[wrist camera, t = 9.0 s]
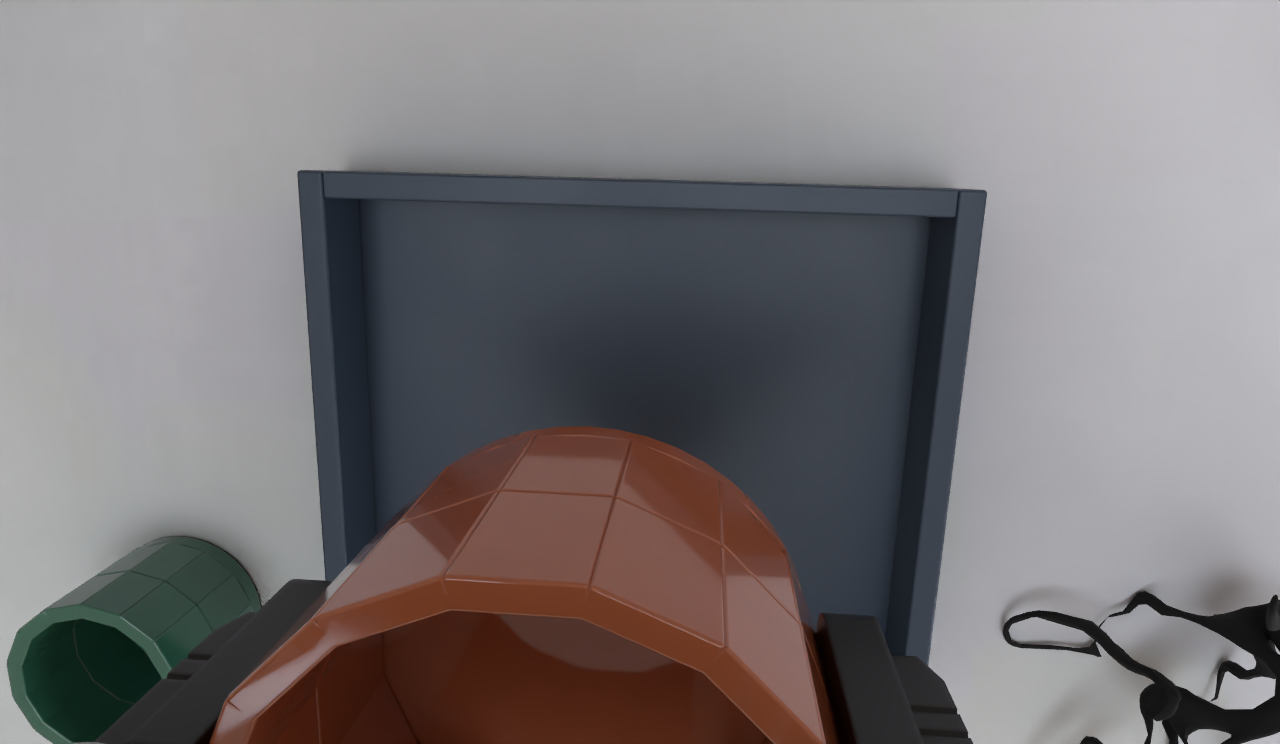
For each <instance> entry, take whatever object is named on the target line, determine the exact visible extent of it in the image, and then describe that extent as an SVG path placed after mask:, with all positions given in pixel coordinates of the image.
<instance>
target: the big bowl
mask: <svg viewBox="0 0 1280 744" xmlns="http://www.w3.org/2000/svg"><path fill="white" fill-rule="evenodd" d="M209 744H842V741H841V737H840V733H839V728H838V724H837V720H836V715H835V711H834V707H833V703H832V698H831V694H830V690H829V686H828V681H827V677H826V673H825V668H824V664H823V660H822V656H821V651H820V647H819V643H818V638H817V634H816V630H815V626H814V623H813V621H812V618H811V615H810V613H809V610H808V607H807V604H806V602H805V598H804V594H803V591H802V588H801V584H800V581H799V577H798V574H797V571H796V569H795V567H794V564H793V562H792V560H791V558H790V555H789V553H788V551H787V549H786V547H785V545H784V543H783V542H782V540H781V539H780V537H779V536H778V534H777V532H776V531H775V529H774V528H773V526H772V524H771V523H770V521H769V520H768V519H767V518H766V517H765V516H764V514H763V513H762V512H761V511H760V510H759V508H758V507H757V506H756V505H755V504H754V502H753V501H752V500H751V499H750V498H749V497H748V496H747V495H746V494H744V493H743V492H742V491H741V490H740V489H739V488H738V487H737V486H736V485H735V484H734V483H732V482H731V481H730V480H729V479H728V478H726V477H725V476H723V475H722V474H721V473H719V472H718V471H716V470H715V469H713V468H712V467H711V466H709V465H708V464H706V463H705V462H703V461H701V460H699V459H698V458H696V457H694V456H692V455H690V454H688V453H686V452H684V451H682V450H681V449H679V448H677V447H674V446H671V445H669V444H666V443H663V442H661V441H658V440H655V439H653V438H650V437H647V436H643V435H639V434H634V433H630V432H626V431H622V430H617V429H608V428H599V427H590V426H570V427H552V428H545V429H538V430H531V431H526V432H522V433H519V434H515V435H512V436H508V437H504V438H501V439H498V440H496V441H494V442H491V443H489V444H487V445H484V446H482V447H480V448H477V449H475V450H473V451H471V452H470V453H468V454H466V455H465V456H463V457H461V458H460V459H458V460H456V461H455V462H453V463H451V464H450V465H448V466H447V467H446V468H445V469H443V470H442V471H441V472H440V473H439V474H437V475H436V476H435V477H434V478H432V479H431V480H430V481H429V482H428V483H427V484H426V485H425V486H424V487H423V488H422V489H421V490H420V491H419V492H418V494H417V495H416V496H415V497H414V498H413V499H412V500H410V501H409V502H408V503H407V504H406V505H405V506H404V507H403V508H402V509H401V510H400V511H399V512H398V513H397V514H396V515H394V516H393V517H392V518H391V519H390V520H389V521H388V522H387V523H386V524H385V525H384V526H383V528H382V529H381V530H380V531H379V532H378V533H377V534H376V535H375V536H374V537H373V538H372V540H371V541H370V542H369V543H368V544H367V545H366V546H365V547H364V548H363V549H362V550H361V551H360V553H359V554H358V555H357V556H356V557H355V558H354V559H353V560H352V561H351V562H350V563H349V565H348V566H347V567H346V568H345V569H344V570H343V571H342V572H341V573H340V574H339V575H338V577H337V578H336V579H335V580H334V581H333V582H332V583H331V584H330V585H329V586H328V587H327V588H326V590H325V591H324V592H323V593H322V594H321V595H320V596H319V597H318V598H317V599H316V600H315V602H314V603H313V604H312V605H311V606H310V607H309V608H308V609H307V610H306V611H305V612H304V613H303V615H302V616H301V617H300V618H299V619H298V620H297V621H296V622H295V623H294V624H293V625H292V627H291V628H290V629H289V630H288V631H287V632H286V633H285V634H284V635H283V636H282V637H281V638H280V640H279V641H278V642H277V643H276V644H275V645H274V646H273V647H272V648H271V649H270V650H269V652H268V653H267V654H266V655H265V656H264V657H263V658H262V659H261V660H260V661H259V662H258V664H257V665H256V666H255V667H254V668H253V669H252V670H251V671H250V672H249V673H248V674H247V675H246V677H245V678H244V679H243V680H242V681H241V682H240V683H239V684H238V685H237V686H236V687H235V689H234V690H233V691H232V692H231V693H230V694H229V695H228V698H227V699H226V700H225V701H224V704H223V707H222V709H221V712H220V715H219V718H218V721H217V723H216V726H215V729H214V732H213V734H212V737H211V740H210V743H209Z"/></svg>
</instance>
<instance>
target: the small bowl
mask: <svg viewBox="0 0 1280 744" xmlns="http://www.w3.org/2000/svg"><path fill="white" fill-rule="evenodd" d="M260 609H261V605H260V600H259V596H258V593H257V591H256V588H255V586H254V584H253V582H252V580H251V579H250V577H249V575H248V574H247V573H246V571H245V570H244V569H243V567H242V566H241V565H240V564H239V563H238V562H237V561H236V560H235V559H234V558H232V557H231V556H230V555H229V554H227V553H226V552H224V551H223V550H221V549H220V548H218V547H216V546H214V545H212V544H210V543H207V542H205V541H202V540H199V539H195V538H189V537H166V538H160V539H157V540H153V541H151V542H149V543H147V544H145V545H143V546H142V547H139V548H137V549H135V550H134V551H132V552H131V553H129V554H128V555H126V556H125V557H123V558H122V559H120V560H118V561H117V562H115V563H114V564H112V565H111V566H109V567H108V568H106V569H105V570H103V571H102V572H100V573H99V574H97V575H96V576H94V577H93V578H91V579H90V580H88V581H87V582H85V583H84V584H82V585H81V586H79V587H78V588H76V589H74V590H73V591H71V592H70V593H68V594H67V595H65V596H64V597H62V598H61V599H59V600H58V601H56V602H55V603H53V604H52V605H50V606H49V607H47V608H46V609H44V610H43V611H41V612H40V613H39V614H38V615H36V616H35V617H34V618H33V619H31V620H30V621H29V622H27V623H26V624H25V625H24V626H22V627H21V628H20V629H19V630H18V632H17V634H16V636H15V639H14V642H13V645H12V648H11V651H10V653H9V656H8V659H7V669H8V675H9V680H10V686H11V692H12V696H13V697H14V698H13V699H14V701H15V702H16V704H17V705H18V707H19V708H20V710H21V711H22V713H23V714H24V716H25V717H26V719H27V720H28V722H29V723H30V725H31V726H32V728H33V729H35V731H36V732H38V733H39V734H40V735H42V736H43V737H45V738H46V739H47V740H49V741H50V742H52V743H53V744H72V743H82V742H94V741H95V740H96V739H97V738H99V737H100V736H101V735H102V734H103V733H104V732H105V731H106V730H107V729H108V728H109V727H110V726H111V725H113V724H114V723H115V722H116V721H117V720H118V719H119V718H120V717H121V716H122V715H123V714H124V713H125V712H127V711H128V710H129V709H130V708H131V707H132V706H133V705H134V704H135V703H136V702H137V701H138V700H139V699H141V698H142V697H143V696H144V695H145V694H146V693H147V692H148V691H149V690H150V689H151V688H152V687H153V686H155V685H156V684H157V683H158V682H159V681H160V680H161V679H166V678H167V674H168V673H169V672H170V671H171V670H172V669H173V668H174V667H175V666H176V665H177V664H178V663H179V662H180V661H182V660H183V659H187V658H188V654H189V653H190V652H191V651H192V650H193V649H194V648H196V647H197V646H198V645H199V644H200V643H201V642H202V641H203V640H204V639H205V638H206V637H207V636H208V635H210V634H211V633H212V632H213V631H214V630H216V629H218V628H220V627H222V626H223V625H225V624H227V623H229V622H231V621H233V620H235V619H237V618H238V617H240V616H242V615H244V614H246V613H248V612H258V611H259V610H260Z"/></svg>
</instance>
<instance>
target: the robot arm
mask: <svg viewBox="0 0 1280 744" xmlns="http://www.w3.org/2000/svg"><path fill="white" fill-rule="evenodd" d="M332 582H333V581H320V580H303V579H292V580H290V581H289V582H288V583H286V584H285V585H284V586H283V587H282V588H281V589H280V590H279V591H278V592H277V593H276V594H275V595H274V596H273V597H272V598H271V599H270V600H269V601H268V602H267V603H266V604H265V605H264V606H263V607H262V608H261V609H260V610H259V611H258V612H248V613H246V614H244V615H242V616H240V617H238V618H237V619H235V620H233V621H231V622H229V623H227V624H225V625H223V626H222V627H220V628H218V629H216V630H214V631H213V632H212V633H211V634H210V635H208V636H207V637H206V638H205V639H204V640H203V641H202V642H201V643H200V644H199V645H198V646H197V647H196V648H194V649H193V650H192V651H191V652H190V653H189V654H188V658H187V659H183V660H182V661H180V662H179V663H178V664H177V665H176V666H175V667H174V668H173V669H172V670H171V671H170V672H169V673H168V674H167V678H166V679H161V680H160V681H159V682H158V683H157V684H156V685H155V686H153V687H152V688H151V689H150V690H149V691H148V692H147V693H146V694H145V695H144V696H143V697H142V698H141V699H139V700H138V701H137V702H136V703H135V704H134V705H133V706H132V707H131V708H130V709H129V710H128V711H127V712H125V713H124V714H123V715H122V716H121V717H120V718H119V719H118V720H117V721H116V722H115V723H114V724H113V725H111V726H110V727H109V728H108V729H107V730H106V731H105V732H104V733H103V734H102V735H101V736H100V737H99V738H97V739H96V740H95V741H94V742H82V743H72V744H209V743H210V740H211V737H212V734H213V732H214V729H215V726H216V723H217V721H218V718H219V715H220V712H221V709H222V707H223V704H224V701H225V700H226V699H227V698H228V695H229V694H230V693H231V692H232V691H233V690H234V689H235V687H236V686H237V685H238V684H239V683H240V682H241V681H242V680H243V679H244V678H245V677H246V675H247V674H248V673H249V672H250V671H251V670H252V669H253V668H254V667H255V666H256V665H257V664H258V662H259V661H260V660H261V659H262V658H263V657H264V656H265V655H266V654H267V653H268V652H269V650H270V649H271V648H272V647H273V646H274V645H275V644H276V643H277V642H278V641H279V640H280V638H281V637H282V636H283V635H284V634H285V633H286V632H287V631H288V630H289V629H290V628H291V627H292V625H293V624H294V623H295V622H296V621H297V620H298V619H299V618H300V617H301V616H302V615H303V613H304V612H305V611H306V610H307V609H308V608H309V607H310V606H311V605H312V604H313V603H314V602H315V600H316V599H317V598H318V597H319V596H320V595H321V594H322V593H323V592H324V591H325V590H326V588H327V587H328V586H329V585H330V584H331V583H332ZM816 634H817V638H818V643H819V647H820V651H821V656H822V660H823V664H824V668H825V673H826V677H827V681H828V686H829V690H830V694H831V698H832V703H833V707H834V711H835V715H836V720H837V724H838V728H839V733H840V737H841V741H842V744H973V742H972V740H971V738H968V732H967V729H966V727H965V725H964V723H963V721H962V719H961V716H960V714H957V708H956V706H955V704H954V701H953V699H952V697H951V695H950V693H949V691H948V688H947V686H946V684H945V682H944V681H943V680H942V679H941V678H940V677H939V676H938V675H937V674H936V673H935V672H934V671H932V670H931V669H930V668H929V667H928V666H927V665H926V664H925V663H924V662H923V661H921V660H920V659H919V658H918V657H917V656H903V655H891V654H890V651H889V648H888V646H887V643H886V640H885V638H884V635H883V633H882V630H881V627H880V625H879V622H878V620H877V618H876V617H875V616H868V615H852V614H836V613H820V615H819V617H818V622H817V630H816Z"/></svg>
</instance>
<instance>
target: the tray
mask: <svg viewBox="0 0 1280 744" xmlns="http://www.w3.org/2000/svg"><path fill="white" fill-rule="evenodd" d="M298 188H299V203H300V217H301V232H302V246H303V261H304V275H305V290H306V304H307V319H308V333H309V348H310V362H311V376H312V391H313V405H314V420H315V434H316V449H317V463H318V478H319V492H320V507H321V521H322V536H323V550H324V565H325V579H326V581H334V580H335V579H336V578H337V577H338V575H339V574H340V573H341V572H342V571H343V570H344V569H345V568H346V567H347V566H348V565H349V563H350V562H351V561H352V560H353V559H354V558H355V557H356V556H357V555H358V554H359V553H360V551H361V550H362V549H363V548H364V547H365V546H366V545H367V544H368V543H369V542H370V541H371V540H372V538H373V537H374V536H375V535H376V534H377V533H378V532H379V531H380V530H381V529H382V528H383V526H384V525H385V524H386V523H387V522H388V521H389V520H390V519H391V518H392V517H393V516H394V515H396V514H397V513H398V512H399V511H400V510H401V509H402V508H403V507H404V506H405V505H406V504H407V503H408V502H409V501H410V500H412V499H413V498H414V497H415V496H416V495H417V494H418V492H419V491H420V490H421V489H422V488H423V487H424V486H425V485H426V484H427V483H428V482H429V481H430V480H431V479H432V478H434V477H435V476H436V475H437V474H439V473H440V472H441V471H442V470H443V469H445V468H446V467H447V466H448V465H450V464H451V463H453V462H455V461H456V460H458V459H460V458H461V457H463V456H465V455H466V454H468V453H470V452H471V451H473V450H475V449H477V448H480V447H482V446H484V445H487V444H489V443H491V442H494V441H496V440H498V439H501V438H504V437H508V436H512V435H515V434H519V433H522V432H526V431H531V430H538V429H545V428H552V427H570V426H590V427H599V428H608V429H617V430H622V431H626V432H630V433H634V434H639V435H643V436H647V437H650V438H653V439H655V440H658V441H661V442H663V443H666V444H669V445H671V446H674V447H677V448H679V449H681V450H682V451H684V452H686V453H688V454H690V455H692V456H694V457H696V458H698V459H699V460H701V461H703V462H705V463H706V464H708V465H709V466H711V467H712V468H713V469H715V470H716V471H718V472H719V473H721V474H722V475H723V476H725V477H726V478H728V479H729V480H730V481H731V482H732V483H734V484H735V485H736V486H737V487H738V488H739V489H740V490H741V491H742V492H743V493H744V494H746V495H747V496H748V497H749V498H750V499H751V500H752V501H753V502H754V504H755V505H756V506H757V507H758V508H759V510H760V511H761V512H762V513H763V514H764V516H765V517H766V518H767V519H768V520H769V521H770V523H771V524H772V526H773V528H774V529H775V531H776V532H777V534H778V536H779V537H780V539H781V540H782V542H783V543H784V545H785V547H786V549H787V551H788V553H789V555H790V558H791V560H792V562H793V564H794V567H795V569H796V571H797V574H798V577H799V581H800V584H801V588H802V591H803V594H804V598H805V602H806V604H807V607H808V610H809V613H810V615H811V618H812V621H813V623H814V626H815V630H817V622H818V617H819V615H820V613H836V614H852V615H868V616H875V617H876V618H877V620H878V622H879V625H880V627H881V630H882V633H883V635H884V638H885V640H886V643H887V646H888V648H889V651H890V654H891V655H903V656H917V657H918V658H919V659H920V660H921V661H923V662H924V663H925V664H926V665H927V666H928V662H929V654H930V646H931V638H932V630H933V622H934V614H935V606H936V598H937V590H938V582H939V574H940V566H941V558H942V550H943V542H944V534H945V526H946V518H947V510H948V502H949V494H950V486H951V478H952V470H953V462H954V454H955V446H956V438H957V430H958V422H959V414H960V406H961V398H962V390H963V382H964V374H965V366H966V358H967V350H968V342H969V333H970V325H971V317H972V309H973V301H974V293H975V285H976V277H977V269H978V261H979V253H980V245H981V237H982V229H983V221H984V213H985V205H986V197H987V192H986V191H985V190H973V189H956V188H925V187H891V186H856V185H822V184H787V183H753V182H718V181H684V180H649V179H614V178H580V177H545V176H511V175H476V174H442V173H407V172H373V171H324V170H300V171H298Z"/></svg>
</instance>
